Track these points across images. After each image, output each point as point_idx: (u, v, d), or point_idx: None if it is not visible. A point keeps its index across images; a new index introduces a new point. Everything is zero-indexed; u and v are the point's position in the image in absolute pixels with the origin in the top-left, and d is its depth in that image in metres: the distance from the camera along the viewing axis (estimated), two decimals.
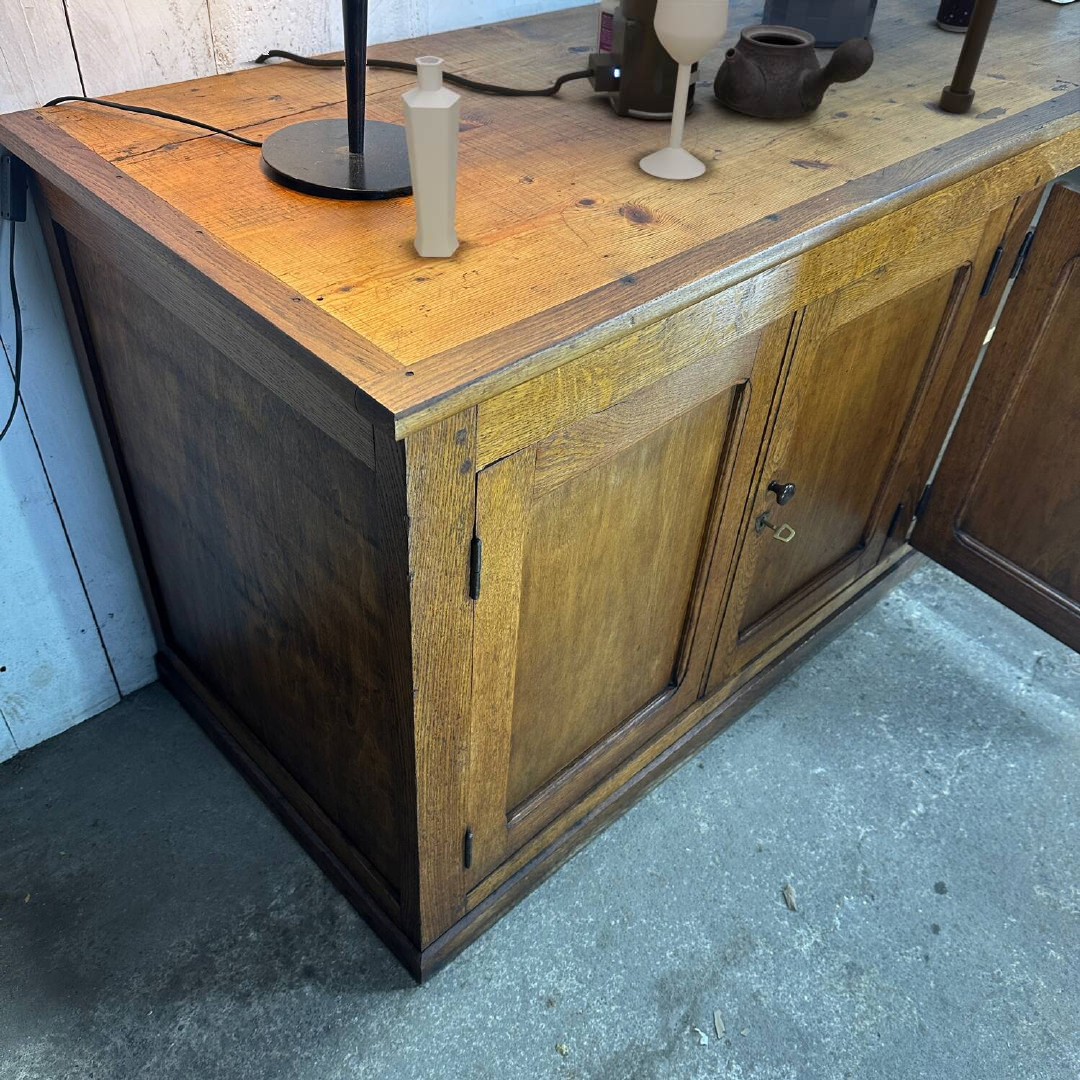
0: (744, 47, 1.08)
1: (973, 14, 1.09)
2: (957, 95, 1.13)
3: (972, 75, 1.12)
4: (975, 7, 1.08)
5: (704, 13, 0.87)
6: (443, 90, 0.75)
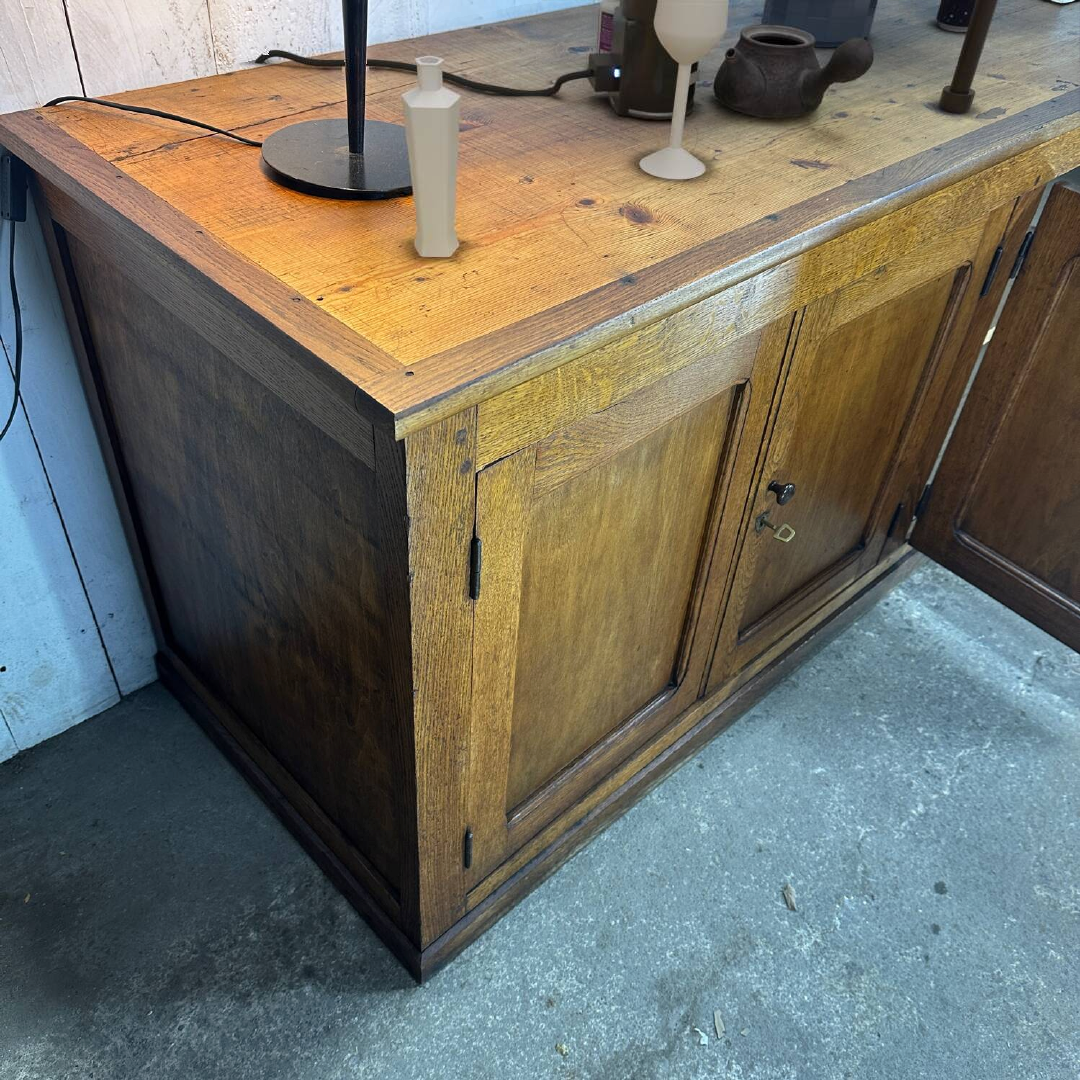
0: (744, 47, 1.08)
1: (973, 14, 1.09)
2: (957, 95, 1.13)
3: (972, 75, 1.12)
4: (975, 7, 1.08)
5: (704, 13, 0.87)
6: (443, 90, 0.75)
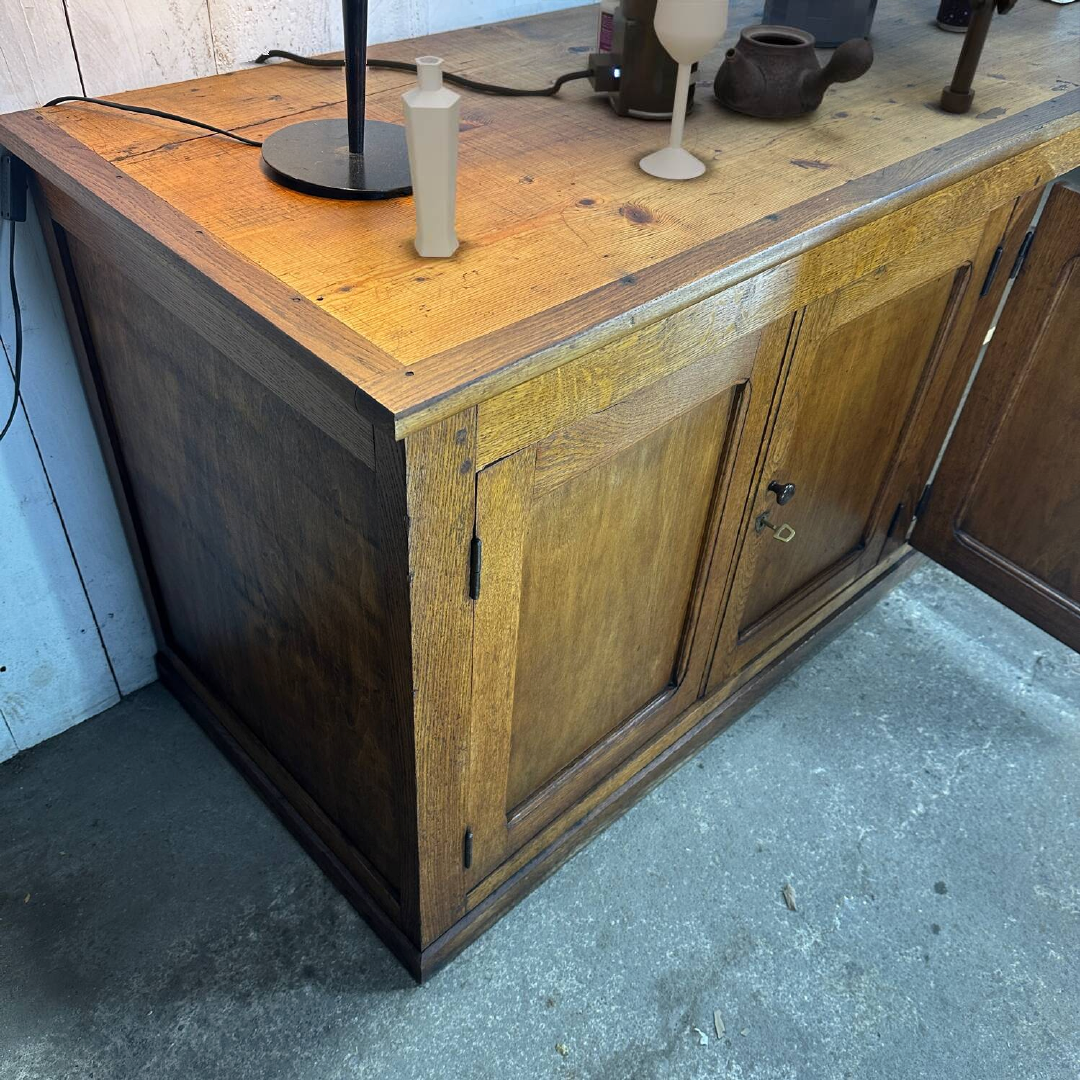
0: (744, 47, 1.08)
1: (973, 14, 1.09)
2: (957, 95, 1.13)
3: (972, 75, 1.12)
4: None
5: (704, 13, 0.87)
6: (443, 90, 0.75)
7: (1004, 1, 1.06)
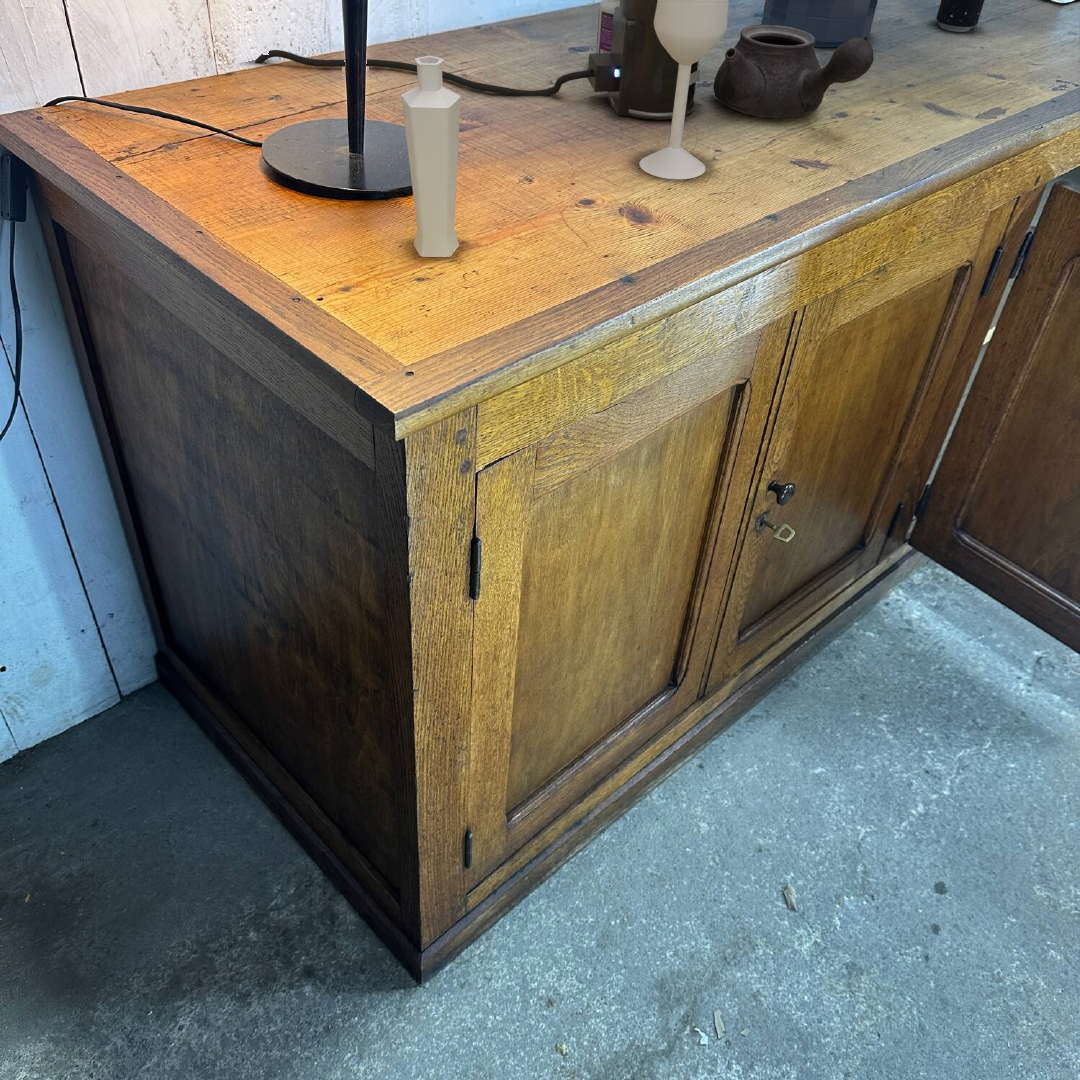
0: (744, 47, 1.08)
1: None
2: None
3: None
4: None
5: (704, 13, 0.87)
6: (443, 90, 0.75)
7: None
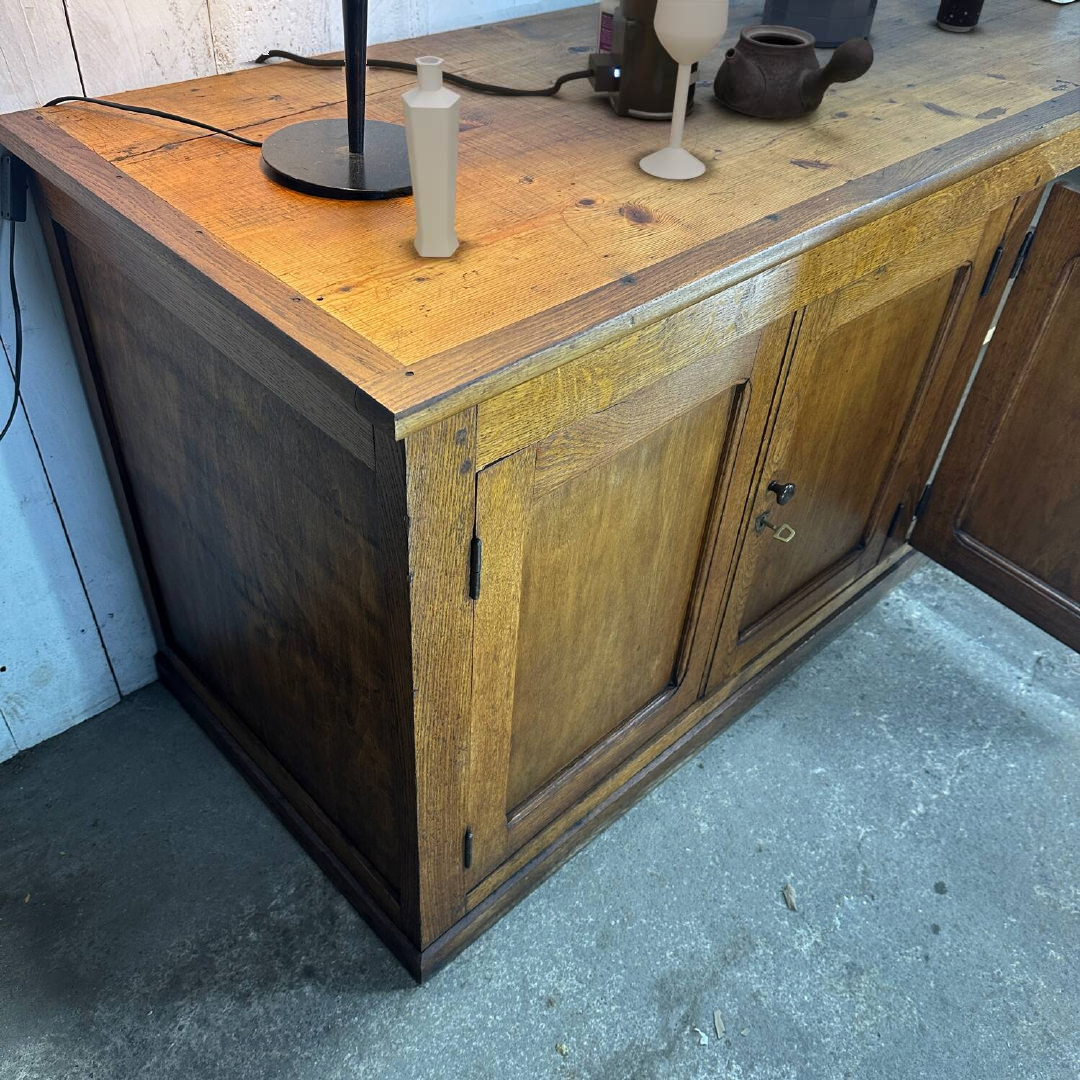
0: (744, 47, 1.08)
1: None
2: None
3: None
4: None
5: (704, 13, 0.87)
6: (443, 90, 0.75)
7: None
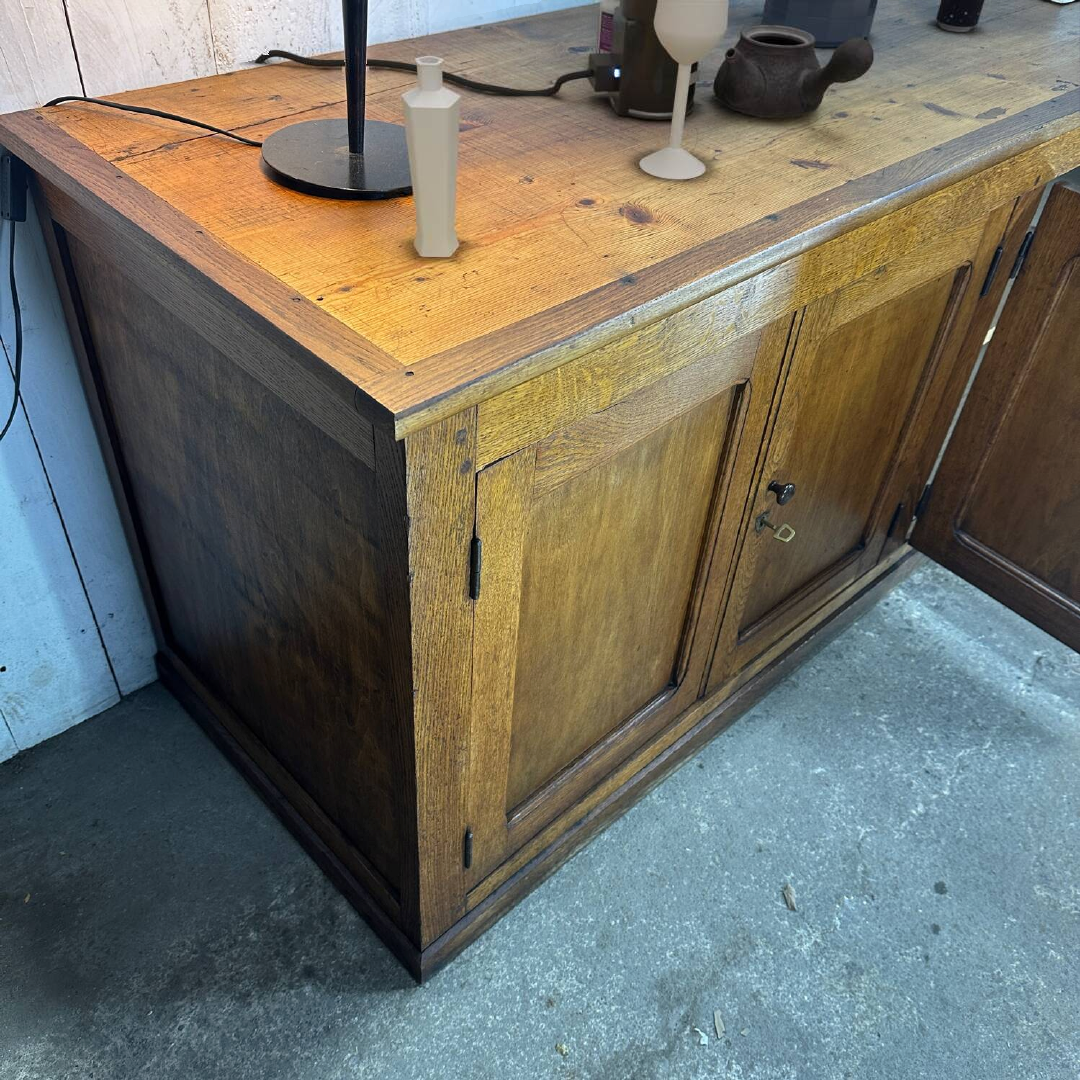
0: (744, 47, 1.08)
1: None
2: None
3: None
4: None
5: (704, 13, 0.87)
6: (443, 90, 0.75)
7: None
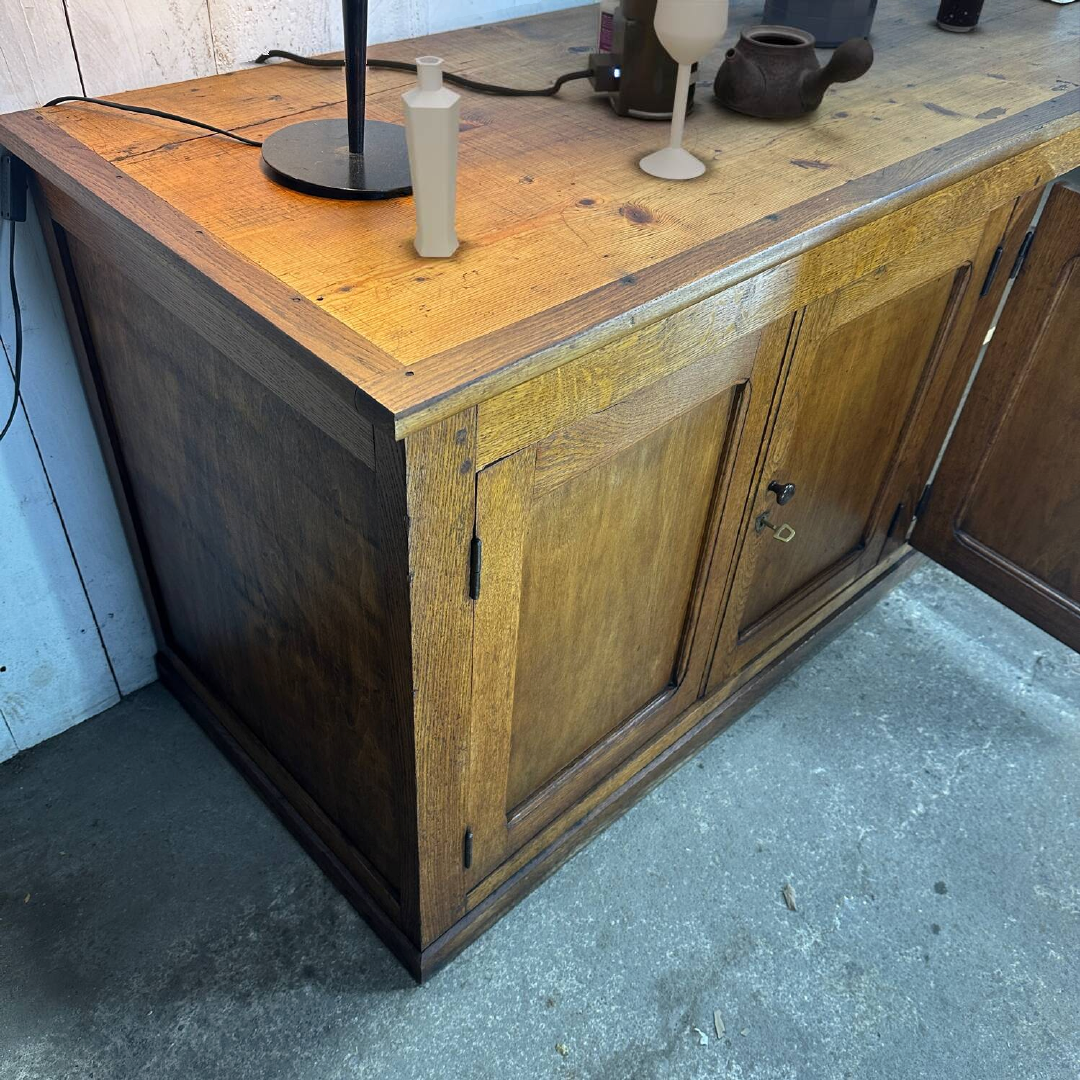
0: (744, 47, 1.08)
1: None
2: None
3: None
4: None
5: (704, 13, 0.87)
6: (443, 90, 0.75)
7: None
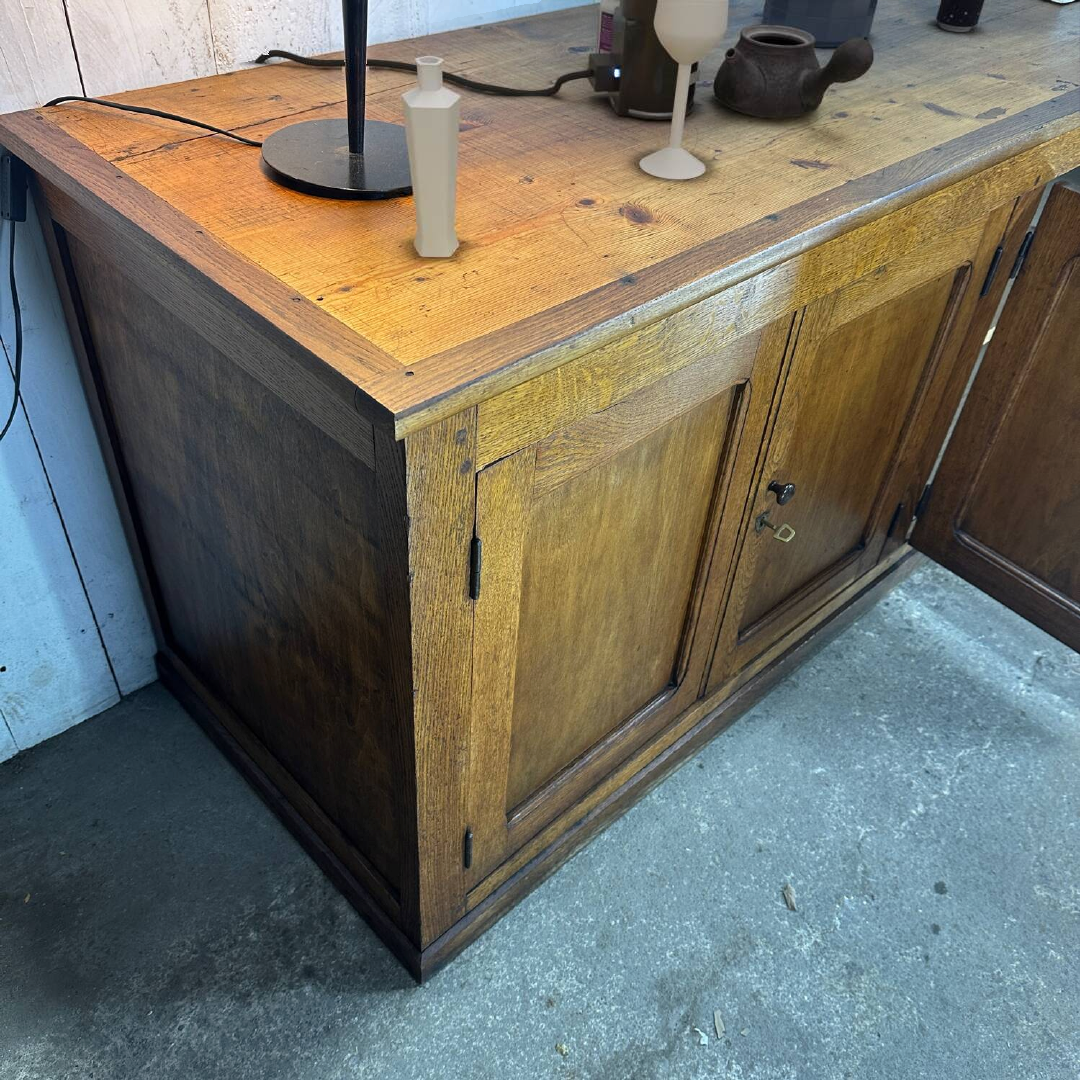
0: (744, 47, 1.08)
1: None
2: None
3: None
4: None
5: (704, 13, 0.87)
6: (443, 90, 0.75)
7: None
